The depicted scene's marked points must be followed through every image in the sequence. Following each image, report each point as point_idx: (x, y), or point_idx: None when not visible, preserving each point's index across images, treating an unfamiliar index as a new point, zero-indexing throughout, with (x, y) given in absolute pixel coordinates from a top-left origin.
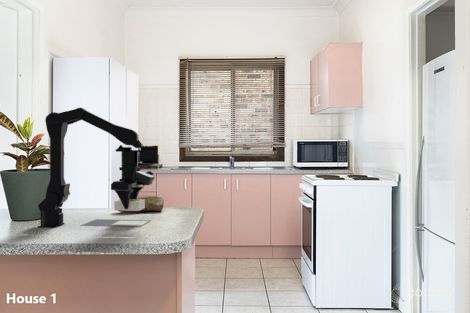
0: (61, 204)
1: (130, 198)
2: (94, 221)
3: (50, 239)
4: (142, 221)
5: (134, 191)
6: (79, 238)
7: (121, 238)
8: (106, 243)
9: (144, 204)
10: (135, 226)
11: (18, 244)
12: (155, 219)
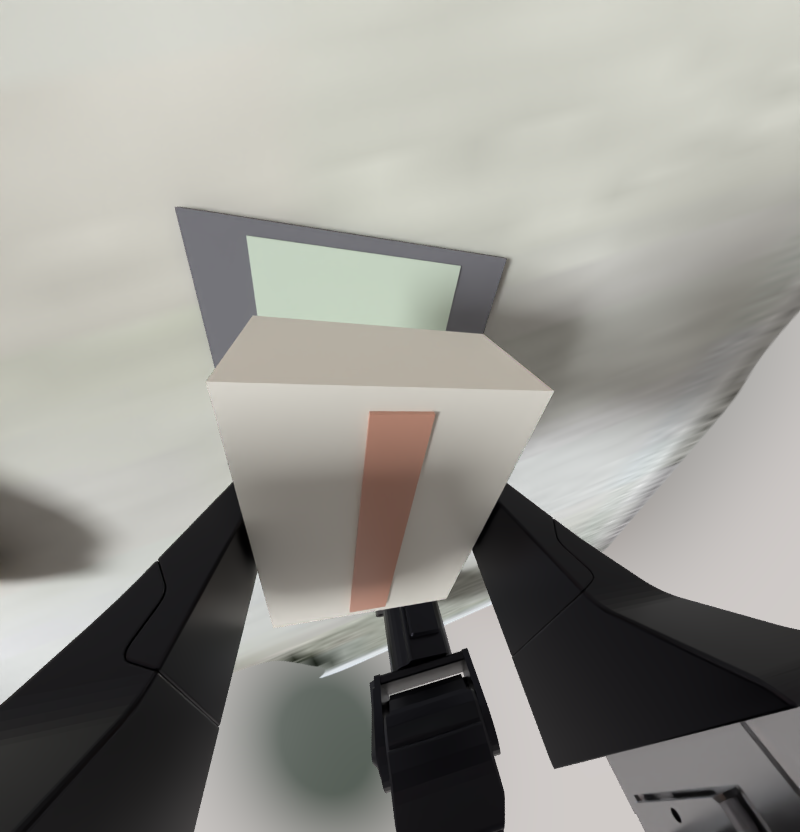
0: (381, 688)
1: (250, 585)
2: None
3: (591, 516)
4: (277, 303)
5: (169, 730)
6: (620, 460)
7: (729, 298)
8: (774, 336)
9: (260, 337)
10: (477, 305)
11: (612, 540)
12: (6, 185)
